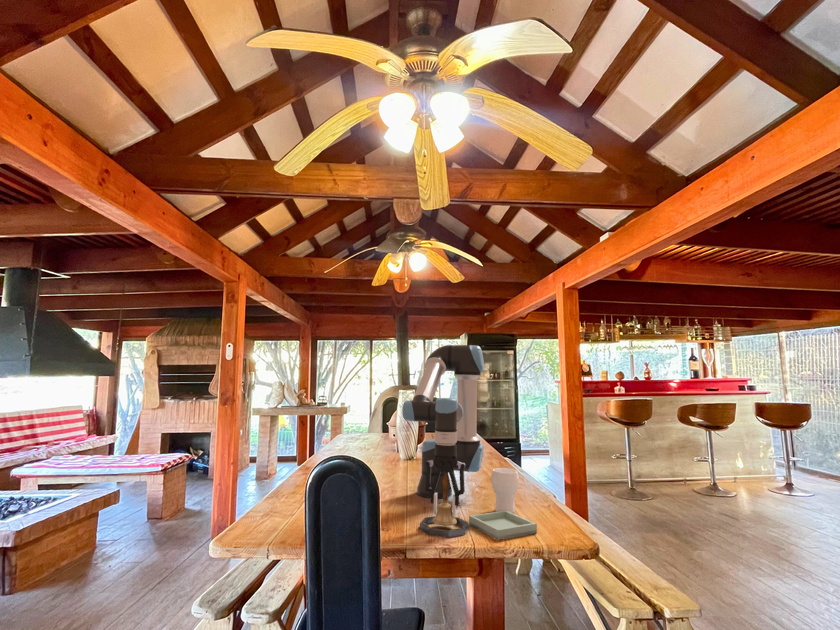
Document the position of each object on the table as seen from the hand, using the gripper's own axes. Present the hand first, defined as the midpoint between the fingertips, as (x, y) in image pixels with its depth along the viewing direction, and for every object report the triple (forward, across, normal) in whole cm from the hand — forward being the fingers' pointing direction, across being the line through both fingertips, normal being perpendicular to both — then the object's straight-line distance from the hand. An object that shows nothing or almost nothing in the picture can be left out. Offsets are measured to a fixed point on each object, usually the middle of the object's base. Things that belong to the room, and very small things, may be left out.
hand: (444, 514), depth 149 cm
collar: (+5, 0, 0) cm, 5 cm away
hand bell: (+3, 0, 0) cm, 3 cm away
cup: (+5, +19, +26) cm, 33 cm away
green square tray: (+5, +19, +5) cm, 20 cm away
